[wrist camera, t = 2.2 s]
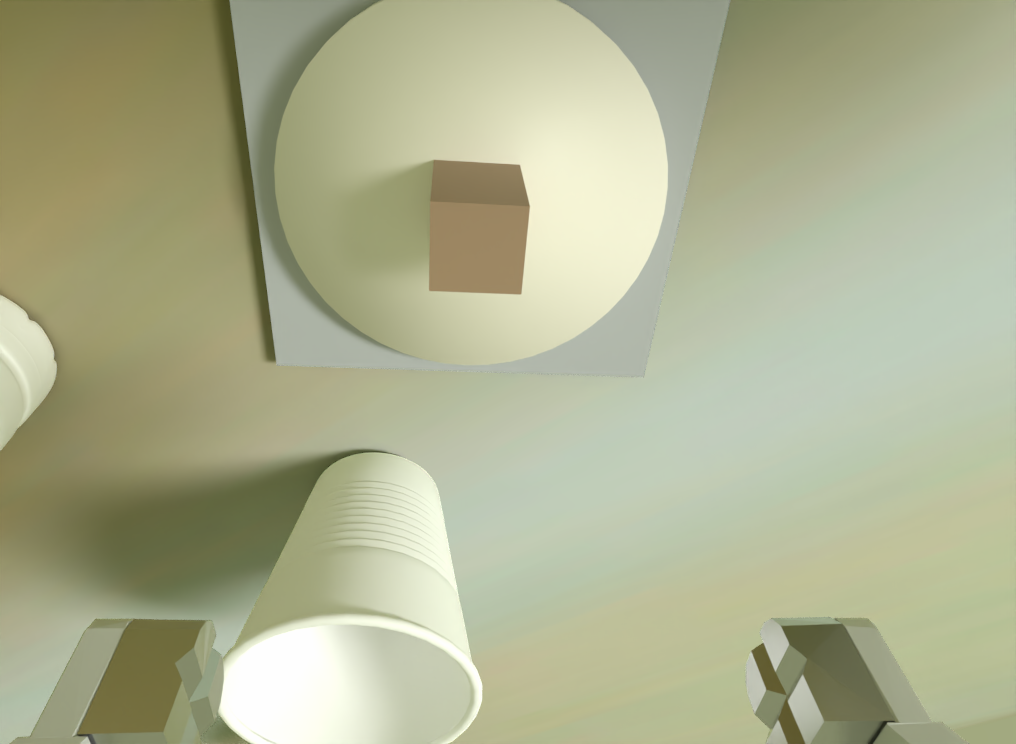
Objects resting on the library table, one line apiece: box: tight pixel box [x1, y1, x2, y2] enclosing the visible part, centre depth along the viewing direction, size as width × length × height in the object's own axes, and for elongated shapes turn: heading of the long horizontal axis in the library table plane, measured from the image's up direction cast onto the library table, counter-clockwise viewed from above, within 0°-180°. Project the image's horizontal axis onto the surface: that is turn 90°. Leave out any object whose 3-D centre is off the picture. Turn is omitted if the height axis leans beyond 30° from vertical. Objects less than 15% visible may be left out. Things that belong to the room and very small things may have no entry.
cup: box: [218, 452, 482, 744], centre depth 30 cm, size 10×10×11 cm
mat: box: [229, 0, 730, 377], centre depth 26 cm, size 16×16×1 cm
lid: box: [274, 0, 668, 365], centre depth 24 cm, size 14×14×5 cm
